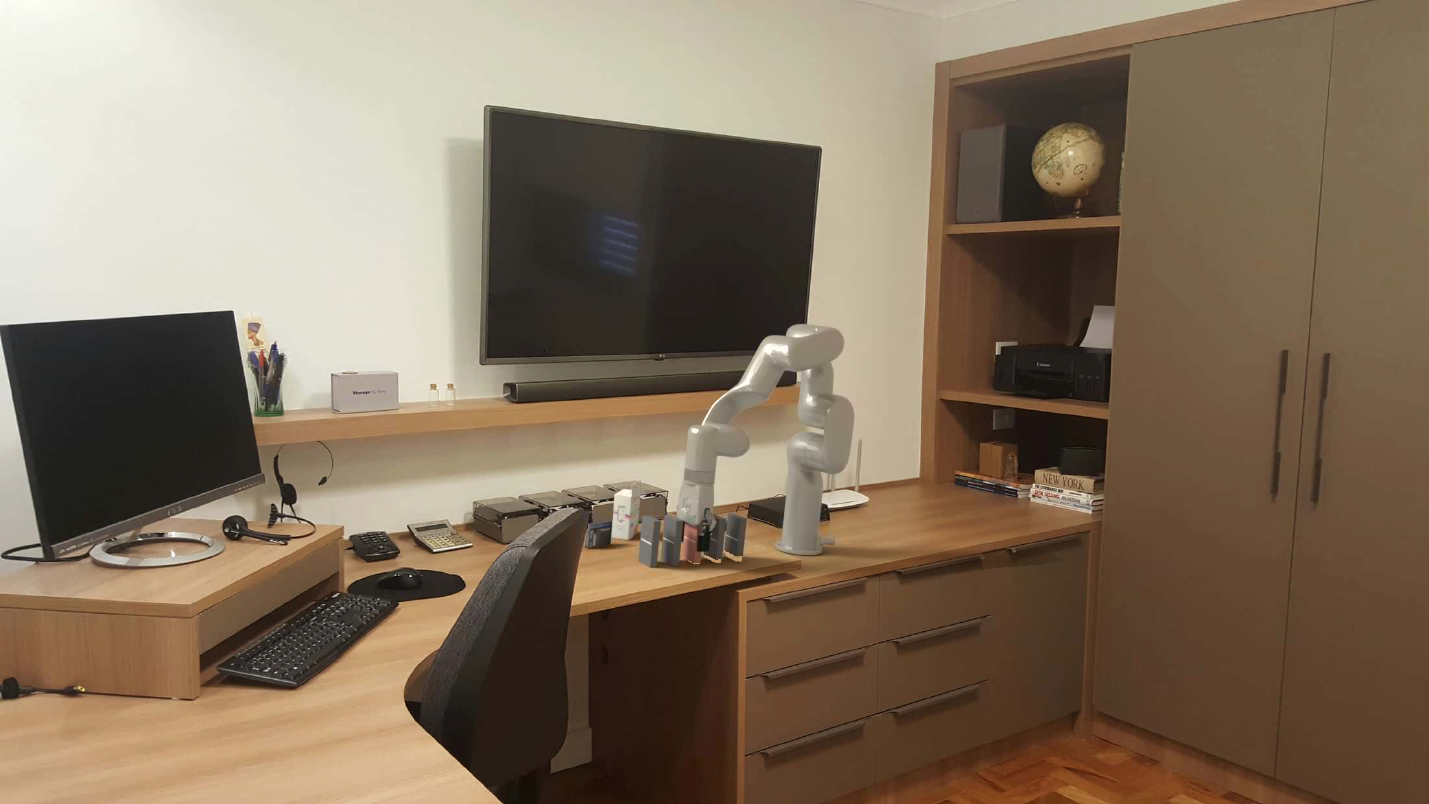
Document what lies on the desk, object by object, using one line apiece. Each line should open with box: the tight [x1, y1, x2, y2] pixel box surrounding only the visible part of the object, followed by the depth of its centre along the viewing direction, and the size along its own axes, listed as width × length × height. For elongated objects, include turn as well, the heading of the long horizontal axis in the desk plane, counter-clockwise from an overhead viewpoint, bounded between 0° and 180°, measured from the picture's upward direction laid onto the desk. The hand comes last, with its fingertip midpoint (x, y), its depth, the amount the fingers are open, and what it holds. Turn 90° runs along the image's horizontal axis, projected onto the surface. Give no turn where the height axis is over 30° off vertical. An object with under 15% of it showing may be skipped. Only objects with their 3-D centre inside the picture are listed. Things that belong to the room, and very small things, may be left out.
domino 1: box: [638, 515, 662, 569], centre depth 239 cm, size 2×6×11 cm, turn 31°
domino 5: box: [723, 512, 748, 557], centre depth 251 cm, size 2×6×11 cm, turn 31°
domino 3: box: [681, 522, 705, 563], centre depth 245 cm, size 2×6×11 cm, turn 31°
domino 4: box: [702, 513, 727, 560], centre depth 248 cm, size 2×6×11 cm, turn 31°
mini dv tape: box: [583, 520, 613, 550], centre depth 252 cm, size 8×2×6 cm, turn 143°
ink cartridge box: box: [611, 480, 642, 541], centre depth 264 cm, size 9×5×15 cm, turn 168°
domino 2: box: [660, 514, 683, 567], centre depth 242 cm, size 2×6×11 cm, turn 31°
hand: (692, 546), depth 245 cm, fingers open, 9 cm apart
